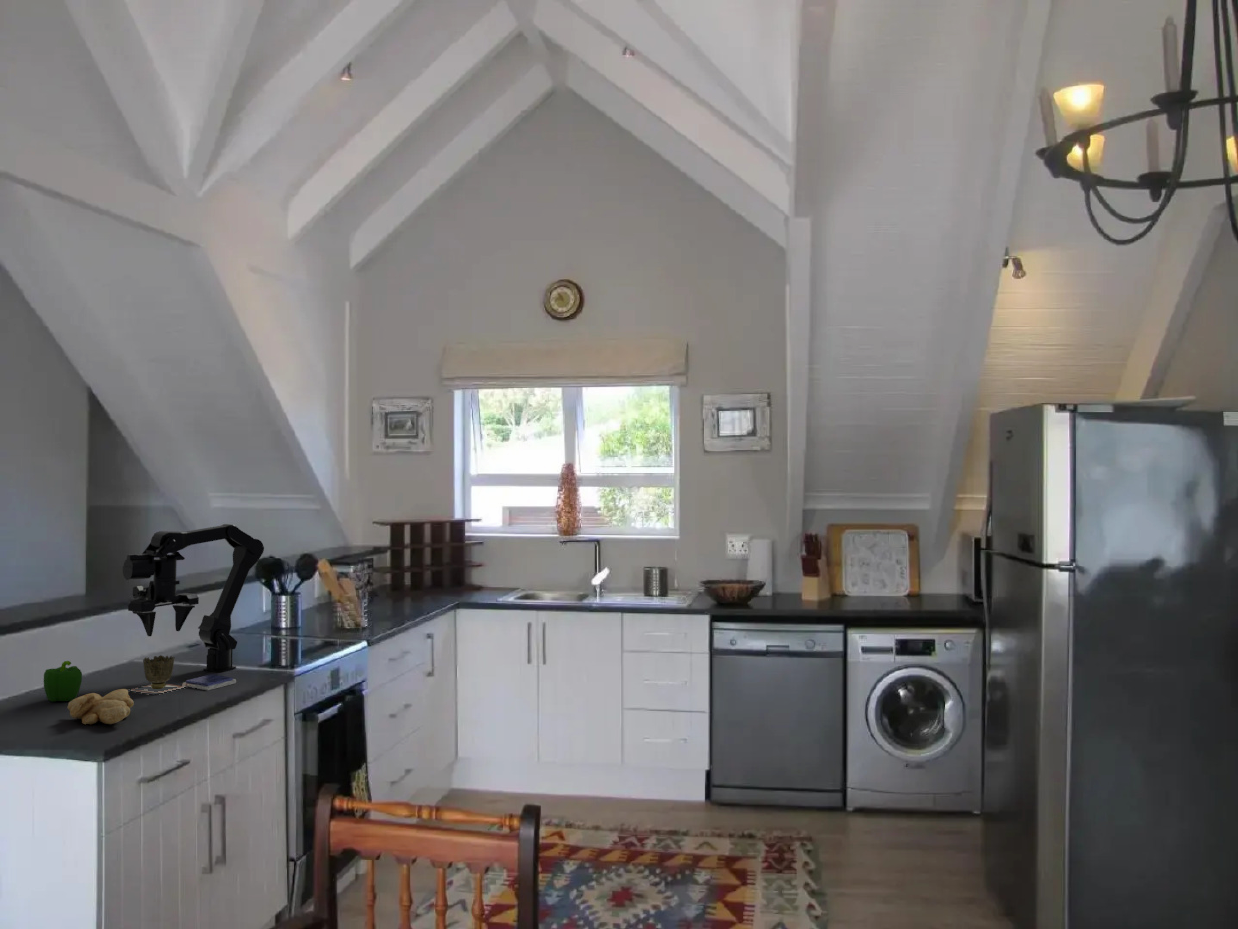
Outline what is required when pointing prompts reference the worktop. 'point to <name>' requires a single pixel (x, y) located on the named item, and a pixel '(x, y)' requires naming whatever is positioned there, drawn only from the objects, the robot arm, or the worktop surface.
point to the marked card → (158, 691)
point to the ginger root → (101, 707)
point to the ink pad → (209, 682)
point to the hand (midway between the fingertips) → (163, 633)
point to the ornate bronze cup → (158, 670)
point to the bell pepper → (62, 682)
